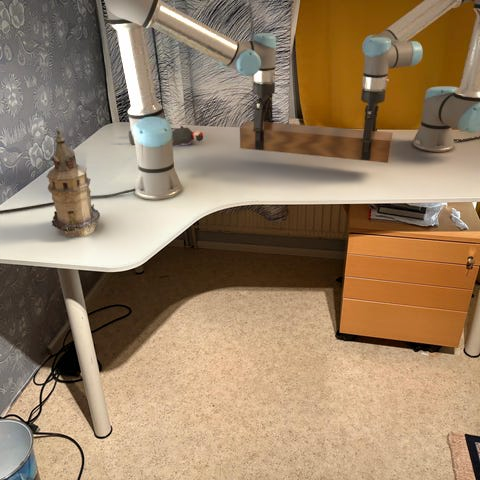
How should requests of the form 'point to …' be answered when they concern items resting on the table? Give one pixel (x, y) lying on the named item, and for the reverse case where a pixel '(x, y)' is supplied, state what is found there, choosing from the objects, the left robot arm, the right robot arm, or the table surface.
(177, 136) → the toy
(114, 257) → the table surface
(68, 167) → the miniature building
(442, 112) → the right robot arm
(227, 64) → the left robot arm
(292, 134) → the wide beam
